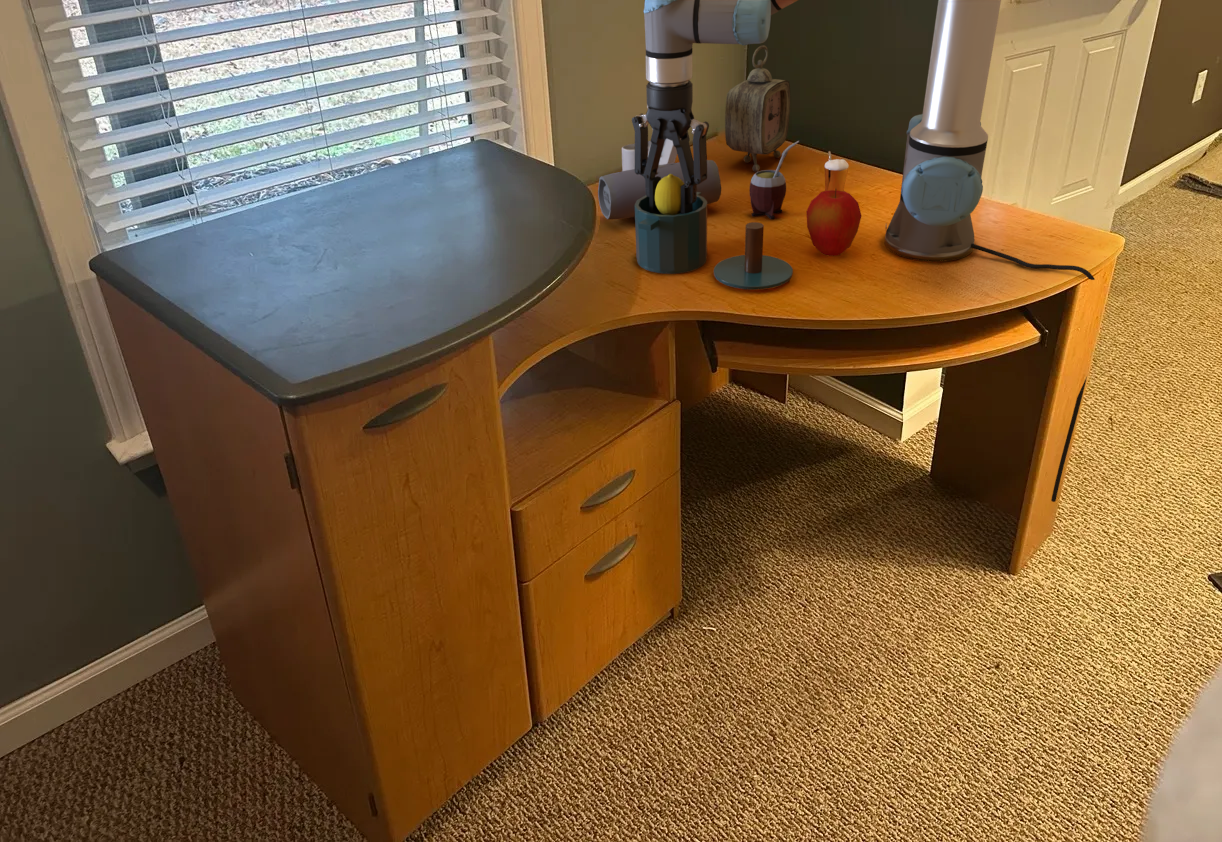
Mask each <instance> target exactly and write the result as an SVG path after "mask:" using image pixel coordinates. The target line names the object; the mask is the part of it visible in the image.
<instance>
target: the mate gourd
mask: <svg viewBox="0 0 1222 842" xmlns="http://www.w3.org/2000/svg"><path fill="white" fill-rule="evenodd" d="M798 143H800V140H797V141H795V142H793V143H792V144H790V145H788V146H787V147H786V148H785V149H784V150H783V152H782V153H781V156H780V160H779V162H778V165H777V166H776V169H763V170H759V171H758V172H755V173H754V174H753V176H752V177H751V180H750V182H749V198H750V206H751V210H752V212H751V217H752V218H753V217H754V218H755V217H760V216H761V217H763V216H766V217H767V218H768V219H770V220H775V218H776V217H775V215H776V214H782V213H783V209H782V206H783V203H784V200H785V197H786V194H787V182H786V178H785V176H784V174H783V173H782V172H781V171H780V169H781V167H782V165H783V162H784V161H785V158H786V157H787V155H788V153H789V151H790V150H791V149H792V148H794V147H795V146H796V145H797V144H798ZM774 214H775V215H774Z"/></svg>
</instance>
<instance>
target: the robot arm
mask: <svg viewBox="0 0 1222 842" xmlns="http://www.w3.org/2000/svg"><path fill="white" fill-rule="evenodd" d="M797 1H799V0H644V8H643V15H644V16H643V17H644V31H645V32H644V36H645V80H646V81H648V82H647V84H646V85H645V86H646V87H645V89H646V106H647V105H648V108H647V110H646V113H639V114H637V115H635V116H632V118H631V123H632V127H633V130H634V144H635V173H636V174H637V175H639V174H640V175H642V176H643V177H644V178H645V190H646V191H645V192H646V196H647V197H649V201H650V213H653V214H660V213H661V212H660V211H659V210H658V208H657V206H656V203H655V191H656V187H657V184H658V182H659V181H660V180H661V177H658V176H657V177H655V175H657V174H658V173H659V172H658V173H657V170H658V166H659V162H660V158H661V154H662V150H663V146H664V142H665V140H666V139H669V140H671V141H673V145H674V147H676V150H677V157H678V161H679V162H680V166H681V170H682V174H683V178H684V182H685V184H683V185H682V186H681V214H686V213H689V212H692V204H693V203H694V202H696V199H697V194H696V193H697V184H700V183H702V182H703V181H705V180H706V179H707V160H708V155H707V154H708V149H707V135H708V132H709V127H710V123H709V121H703V122H702V121H700V120H697V119H695V116H694V113H693V111H692V109H693V97H694V96H693V94H694V93H693V92H694V91H693V89H694V88H693V86H694V85H693V83H692V81H691V79H693V44H715V45H717V44H719V45H741V46H747V45H757V44H763V43H765V42H766V41H767V39H768V38H769V33H770V27H771V17H772V15H774V14H776V13H779V12H780V11H781V10H783V9H784V8H786V7H788V6H791V5H792V4H794V3H796V2H797ZM1001 3H1002V0H938V1H937V8H936V16H935V22H934V28H933V29H934V30H933V35H932V36H933V37H932V44H931V52H930V59H929V65H928V72H927V73H928V74H927V80H926V87H925V95H924V101H923V109H922V113H921V114H917V115H914V116H913V117H912V118H910V120H909V123H908V129H906V134H905V135H906V144H905V153H904V160H903V161H904V162H903V170H902V179H901V189H900V195H899V202H898V205H897V207H896V209H895V211H894V214H893V215H892V217H891V219H890V222H889V224H888V225H887V224H885V235H884V246H885V247H886V249H887V250H888V251H890V252H891V253H893V254H895V255H896V256H900V257H902V258H906V259H909V260H915V261H920V262H931V263H935V262H950V261H956V260H959V259H963V258H966V257H967V256H970V255H971V254H972V252H973V251H974V250H977V251H980V252H983V253H987V254H989V255H993V256H995V257H998V258H1001V259H1004V260H1007V261H1011V262H1013V263H1016V264H1017V265H1019V266H1022V267H1024V268H1028V269H1033V270H1054V271H1055V270H1057V271H1075V272H1076V271H1077V272H1079V273H1081V274H1083V275H1084V276H1085V277H1086V278H1087V279H1088V280H1090V281H1095V280H1096V279H1095V277H1094V276H1093V274H1092V273H1091V272H1090V271H1089V270H1087V269H1086V268H1084V267H1082V266H1078V265H1072V264H1071V265H1070V264H1069V265H1068V264H1049V263H1048V264H1047V263H1044V264H1043V263H1042V264H1040V263H1038V264H1037V263H1030V262H1026V261H1025V260H1022V259H1020V258H1017V257H1014V256H1012V255H1009V254H1006V253H1004V252H1001V251H997V250H994V249H992V248H988V247H985V246H981V245H978V244H976V243H975V240H976V239H975V232H974V227H973V219H972V215H971V214H972V213H973V212H974V211H975V209H976V208H977V206H978V205H979V203H980V201H981V198H982V195H983V191H984V186H983V179H982V176H983V169H984V164H985V157H986V151H987V145H988V141H989V134H988V132H987V131H986V130H985V129H984V128H983V127H982V122H981V120H982V115H983V109H984V102H985V97H986V90H987V84H988V78H989V73H990V67H991V61H992V56H993V50H994V44H995V38H996V33H997V28H998V27H997V26H998V21H999V15H1000V8H1001ZM649 126H650V127H651V130H652V129H653V130H652V133H651V137H650V141H651V146H650V151H649V155H648V141H649ZM690 128H691V134H692V135H693V136H692V149H691V145H690V134H689V130H690ZM680 138H681V139H680ZM1087 378H1088V376H1086V377H1085V379H1084V382H1083V384H1082V386H1081V388H1080V390H1079V392H1078V395H1077V396H1076V399H1075V403H1074V406H1073V407H1074V408H1073V411H1072V414H1071V415H1072V416H1071V419H1070V423H1069V426H1068V431H1067V434H1066V438H1065V443H1064V445H1063V449H1062V453H1061V457H1060V462H1059V465H1058V469H1057V473H1056V477H1055V482H1054V485H1053V490H1052V495H1051V499H1050V500H1051V502H1053V503H1056V501H1057V496H1058V492H1059V488H1060V485H1061V484H1060V483H1061V480H1062V475H1063V472H1064V468H1065V463H1066V459H1067V455H1068V451H1069V449H1070V444H1071V440H1072V437H1073V433H1074V429H1075V425H1076V421H1077V418H1078V415H1079V411H1080V407H1081V403H1082V400H1083V395H1084V391H1085V387H1086V383H1087Z"/></svg>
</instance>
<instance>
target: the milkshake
mask: <svg viewBox="0 0 1222 842" xmlns="http://www.w3.org/2000/svg"><path fill="white" fill-rule="evenodd" d="M827 153H828V161H826V162H825V163H824V191H829V190H834V191H835V189H836V191H845V187H846V181H847V178H848V177H847V176H848V171H849V166H850V165H849V163H848V162H847V161H846V159H844V158H842V159H841V158H840V159H839V158H836V159H832V153H831V151H830V150H829V151H827Z"/></svg>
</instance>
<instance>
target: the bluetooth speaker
mask: <svg viewBox="0 0 1222 842" xmlns="http://www.w3.org/2000/svg"><path fill="white" fill-rule="evenodd" d="M658 172H659V173H658ZM657 173H658V174H657V175H655V177H657V176H658V177H661V179H662V178H664V177H666V176H668V175H669V174H673V175H674V176H676V177H678V178H680V179H681V180H682V181H683V183H684V184H685V182H684V178H683V174H682V170H681V166H680V162H675V163H670V164H663V165H659V166H658V170H657ZM645 191H646V190H645V178H644V177H643V176H642V175H640V174H639V175H637V174H636V173H635V169H632V170H627V171H622V170H621V171H617V172H613V173H608V174H605V175H602V176H599V180H598V188H597V197H598V203H599V207H600V208H599V209H600V212H601V214H602V215H603V216H604V218H605V219H606V220H621V219H622V220H623V219H633V218H634V219H635V203H636V201H637V200H638V199H640V198H642V197H643V196H646V192H645ZM697 192H701V196H702V197H704V198H705V200H706V201H707V205H711V204H714V203H717V202H718V201H720V198H721V195H722V183H721V176H720V171H719V167H718V165H717V163H716V162H715V160H713V159H707V179H706V180H705V181H703V182H702V183H700V184H697Z"/></svg>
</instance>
